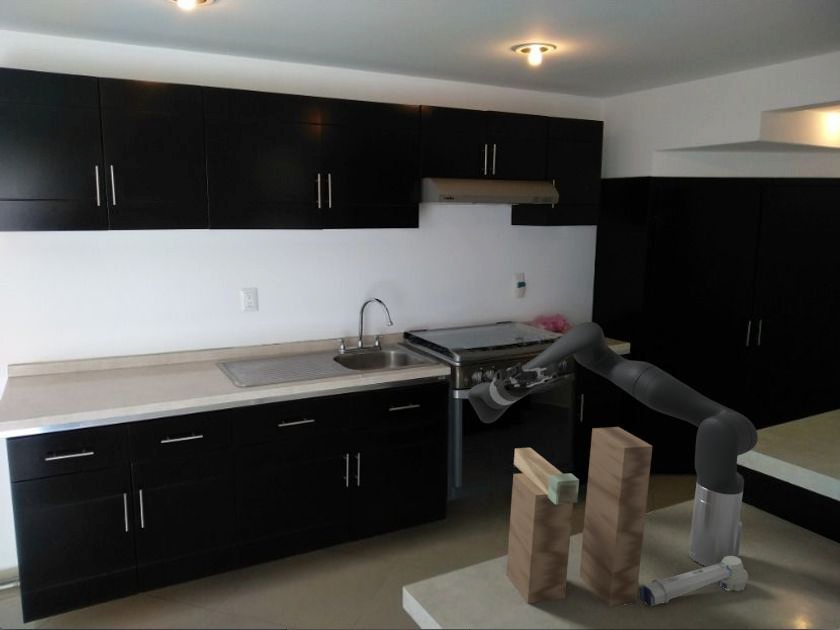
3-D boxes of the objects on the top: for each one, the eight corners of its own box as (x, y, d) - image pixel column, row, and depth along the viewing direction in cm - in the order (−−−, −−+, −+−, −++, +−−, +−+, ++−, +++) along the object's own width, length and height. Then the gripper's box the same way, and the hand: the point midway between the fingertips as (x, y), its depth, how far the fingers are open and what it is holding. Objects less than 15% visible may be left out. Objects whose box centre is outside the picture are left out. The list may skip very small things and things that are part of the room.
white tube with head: (636, 579, 123) (733, 545, 132) (637, 609, 125) (733, 573, 133) (654, 594, 119) (754, 558, 127) (655, 625, 120) (753, 587, 128)
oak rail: (530, 463, 132) (532, 443, 132) (577, 502, 114) (579, 479, 114) (511, 464, 131) (513, 444, 131) (555, 504, 113) (557, 481, 113)
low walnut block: (541, 570, 132) (549, 471, 129) (564, 598, 122) (573, 491, 119) (506, 574, 130) (513, 474, 126) (527, 603, 120) (535, 495, 117)
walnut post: (604, 572, 132) (618, 427, 127) (636, 603, 122) (652, 446, 117) (579, 575, 130) (592, 428, 126) (609, 607, 120) (624, 447, 115)
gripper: (480, 372, 151) (506, 351, 137) (533, 371, 155) (564, 351, 141) (484, 402, 149) (511, 385, 134) (538, 400, 153) (570, 383, 138)
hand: (538, 367), depth 138 cm, fingers open, 8 cm apart
